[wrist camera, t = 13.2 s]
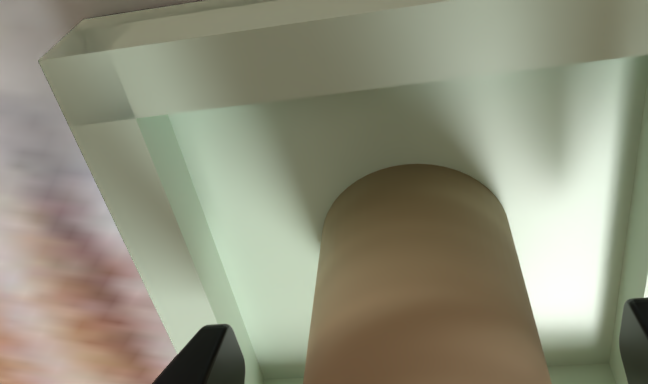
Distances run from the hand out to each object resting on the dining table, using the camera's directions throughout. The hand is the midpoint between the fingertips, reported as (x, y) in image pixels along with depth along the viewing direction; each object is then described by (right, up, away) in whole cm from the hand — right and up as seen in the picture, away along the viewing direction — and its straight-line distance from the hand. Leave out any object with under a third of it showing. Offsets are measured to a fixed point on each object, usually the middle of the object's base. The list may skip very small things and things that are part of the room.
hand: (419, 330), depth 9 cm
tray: (0, +1, +2) cm, 2 cm away
